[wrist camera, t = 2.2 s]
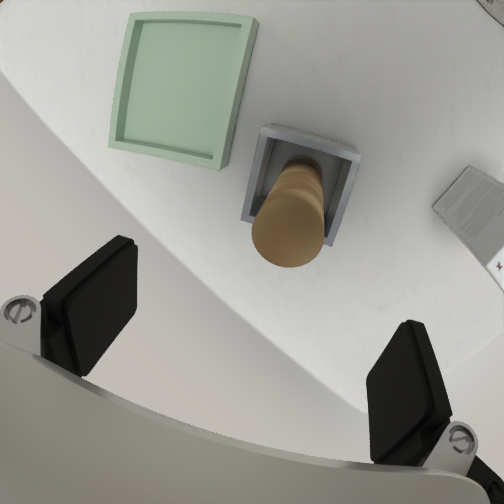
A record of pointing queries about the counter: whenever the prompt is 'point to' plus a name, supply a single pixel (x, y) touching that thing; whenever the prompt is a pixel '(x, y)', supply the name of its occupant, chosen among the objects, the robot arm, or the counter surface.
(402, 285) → the counter surface
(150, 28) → the tray
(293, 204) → the dowel
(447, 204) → the skincare box
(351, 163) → the open box
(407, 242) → the counter surface
